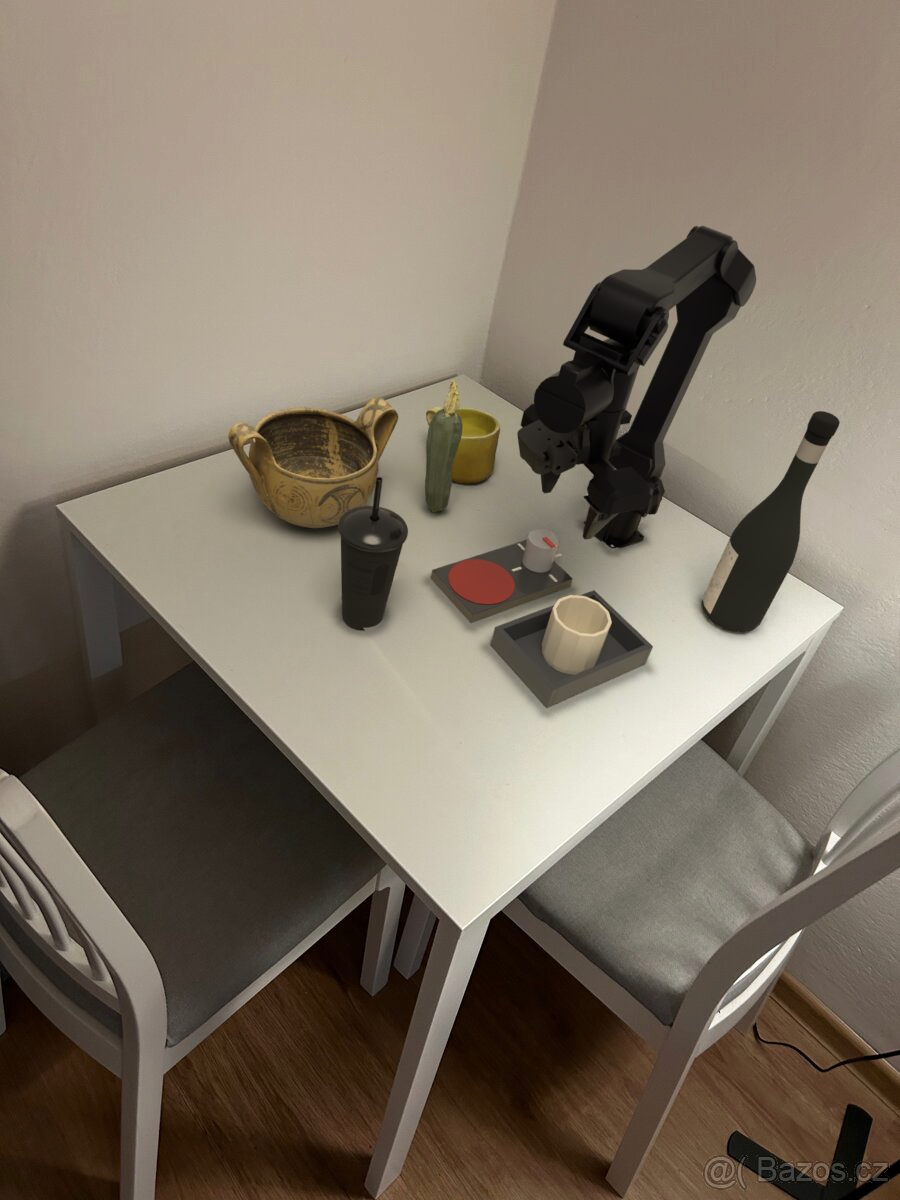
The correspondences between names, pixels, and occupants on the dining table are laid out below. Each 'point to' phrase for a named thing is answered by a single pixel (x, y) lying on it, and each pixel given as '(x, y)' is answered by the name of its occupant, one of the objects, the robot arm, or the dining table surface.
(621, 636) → the sink
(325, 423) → the ceramic bowl
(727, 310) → the robot arm
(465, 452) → the mug
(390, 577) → the drinking cup
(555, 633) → the pot
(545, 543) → the knob
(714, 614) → the wine bottle
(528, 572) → the hob
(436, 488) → the vegetable
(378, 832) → the dining table surface
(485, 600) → the burner
